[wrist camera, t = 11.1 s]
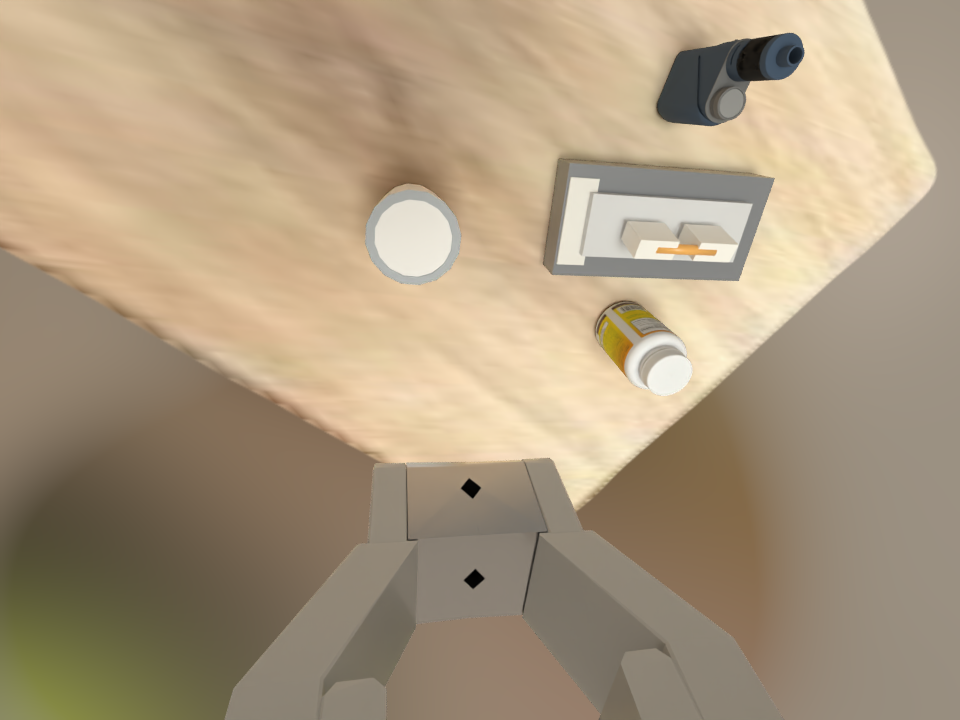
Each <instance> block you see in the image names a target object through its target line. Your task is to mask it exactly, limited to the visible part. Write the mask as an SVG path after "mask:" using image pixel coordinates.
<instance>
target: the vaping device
mask: <svg viewBox="0 0 960 720" xmlns="http://www.w3.org/2000/svg"><path fill="white" fill-rule="evenodd" d="M803 57H804V48H803V44H802V41H801V39H800V38H799V36H797V35H796V34H793V33H786V34H780V35H774V36H768V37H762V38H756V39H742V40H735V41H731V42H726V43H722V44H720V45H717V46H712V47H706V48H700V49H694V50H688V51H682V52H680V53H679V54H678V56H677V57H676V59H675V62H674V64H673V67H672V69H671V71H670V74H669V76H668V79H667V81H666V83H665V86H664V88H663V91H662V93H661V95H660V98H659V100H658V104H657V108H658V112H659V114H660V115H661V116H662V118H663V119H665V120H666V121H668V122H672V123H682V124H693V125H704V126H715V125H718V124H721V123H724V122H726V121H728V120H732V119H734V118H736V117H737V116H738V115H739V114H740V113H741V112H742V110H743V109H744V106H745V103H746V95H745V92H746V89H747V87H748V85H749V83H750V81H764V80H781V79H784V78H786V77H788V76H789V75H791V74H792V73H793V72H794V71H795V70H796V68H797V67H798V65H799V63H800V62H801V61H802V59H803Z"/></svg>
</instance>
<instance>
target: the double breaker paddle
mask: <svg viewBox="0 0 960 720" xmlns="http://www.w3.org/2000/svg"><path fill="white" fill-rule="evenodd" d="M621 240H622V241H623V243H624V244H625V246H626V247H627V249H628V250H629V252H630V253H631V255H632V256H633V258H634V259H656V260H672V259H673V257H674V254H676V255H688V256H689V257H690V258H691V259H692V261H705V262H730V260H731V258H732V256H733V254H734V252H735V251H736V249H737V247H738V244H737V243H736V242H735V241H734V240H733V238H732V237H731V236H730V235H729V234H728V233H727V232H726V231H725V230H724V229H723V228H722V227H721V226H710V225H692V224H685V225H684V227H683V229H682V232H681V234H680V236H679V238H678V239H677V238H676V236H675V235H674V234H673V233H672V232H671V230H670V229H669V228H668V227H667V225H666V224H665V223H656V222H638V221H627V224H626V227H625V229H624V232H623V235H622V238H621Z"/></svg>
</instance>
